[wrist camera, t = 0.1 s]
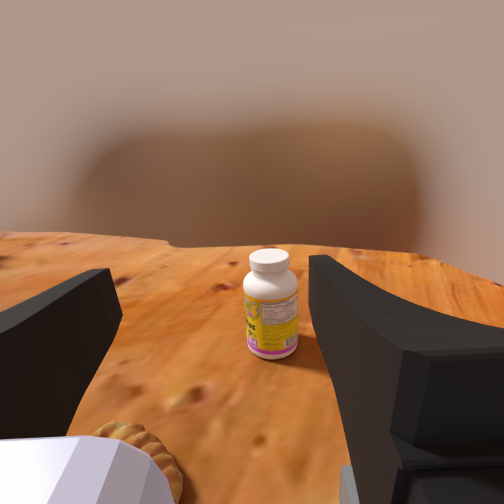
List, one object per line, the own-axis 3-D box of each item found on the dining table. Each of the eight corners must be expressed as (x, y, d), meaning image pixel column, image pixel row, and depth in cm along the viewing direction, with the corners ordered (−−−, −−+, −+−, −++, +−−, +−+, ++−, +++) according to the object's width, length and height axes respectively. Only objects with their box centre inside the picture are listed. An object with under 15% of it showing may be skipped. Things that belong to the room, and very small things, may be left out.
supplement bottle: (246, 332, 46) (241, 247, 41) (293, 328, 46) (292, 243, 41) (248, 364, 39) (241, 268, 35) (302, 360, 39) (302, 264, 35)
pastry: (204, 476, 27) (199, 444, 26) (143, 567, 22) (132, 532, 20) (128, 431, 32) (120, 402, 30) (61, 497, 26) (48, 465, 25)
